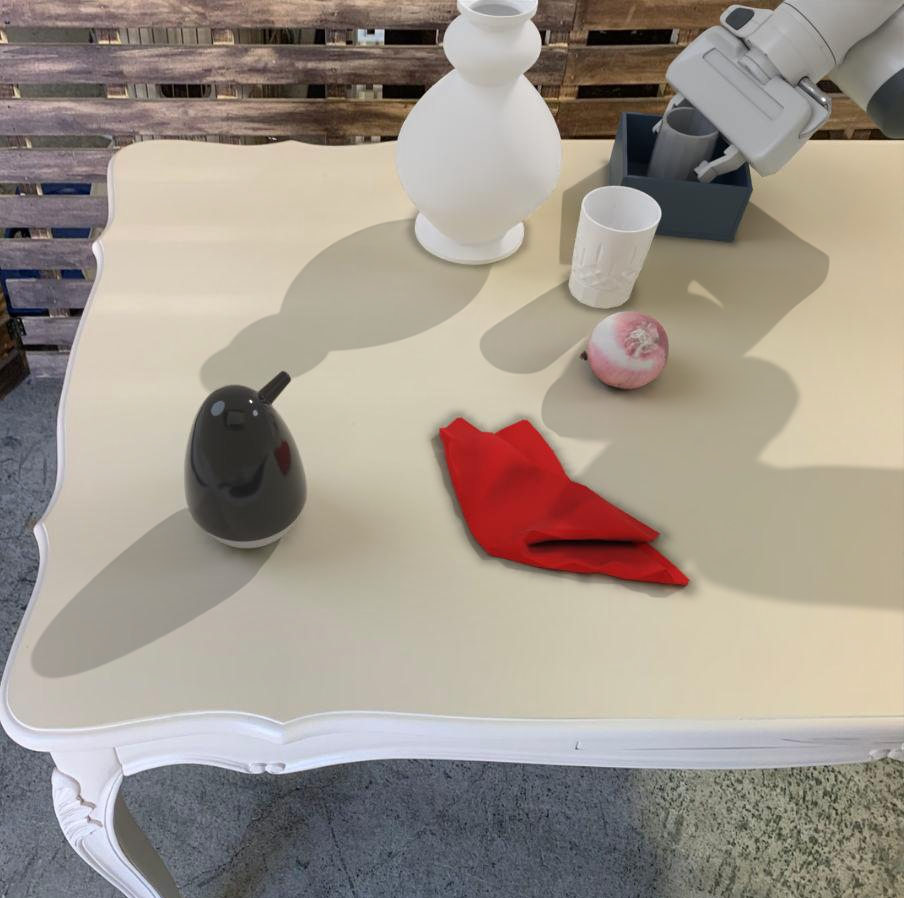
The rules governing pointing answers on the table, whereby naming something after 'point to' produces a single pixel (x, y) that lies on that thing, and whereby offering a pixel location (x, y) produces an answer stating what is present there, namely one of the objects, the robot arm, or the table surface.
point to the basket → (679, 185)
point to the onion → (627, 350)
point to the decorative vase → (481, 138)
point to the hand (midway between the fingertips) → (677, 157)
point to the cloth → (544, 508)
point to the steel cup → (682, 145)
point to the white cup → (611, 244)
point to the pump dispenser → (244, 466)
